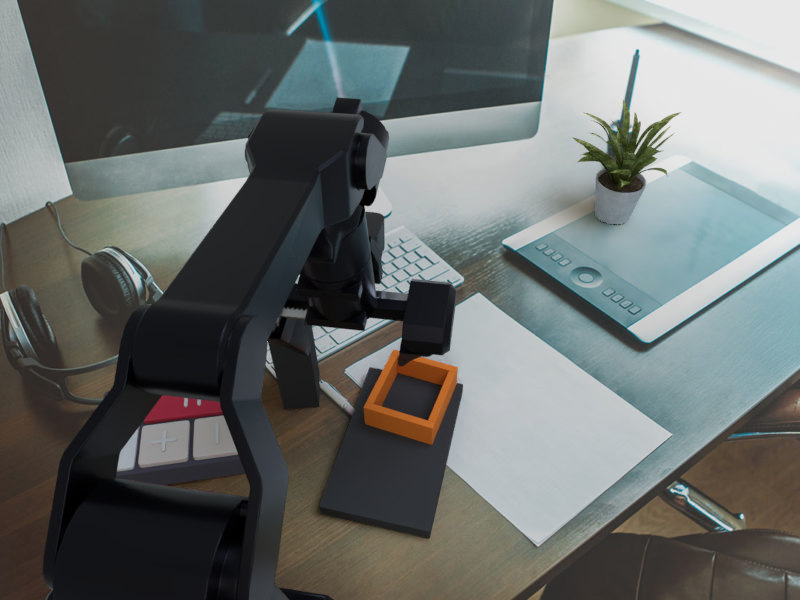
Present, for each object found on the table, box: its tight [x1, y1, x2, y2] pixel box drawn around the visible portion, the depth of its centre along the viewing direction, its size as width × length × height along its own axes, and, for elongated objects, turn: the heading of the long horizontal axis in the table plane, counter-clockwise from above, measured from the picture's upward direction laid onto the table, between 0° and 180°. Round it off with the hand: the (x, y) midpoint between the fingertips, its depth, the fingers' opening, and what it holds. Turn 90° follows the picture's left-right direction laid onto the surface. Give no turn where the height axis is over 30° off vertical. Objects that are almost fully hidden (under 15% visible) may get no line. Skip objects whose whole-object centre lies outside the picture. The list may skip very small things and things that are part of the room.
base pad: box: [318, 349, 464, 539], centre depth 68 cm, size 19×11×4 cm, turn 166°
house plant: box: [572, 99, 682, 226], centre depth 93 cm, size 14×14×16 cm
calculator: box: [102, 390, 246, 486], centre depth 69 cm, size 11×4×15 cm
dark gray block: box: [267, 320, 320, 410], centre depth 70 cm, size 5×4×13 cm
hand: (354, 356), depth 62 cm, fingers open, 9 cm apart
